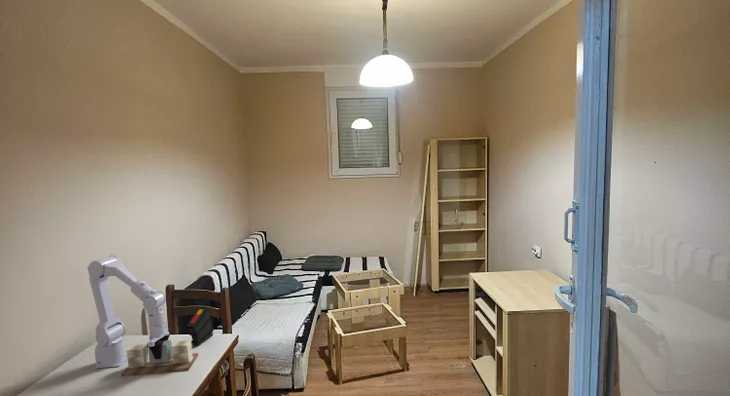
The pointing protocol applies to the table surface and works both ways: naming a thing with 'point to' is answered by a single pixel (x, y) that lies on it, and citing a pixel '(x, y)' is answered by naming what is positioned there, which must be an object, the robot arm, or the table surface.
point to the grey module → (162, 353)
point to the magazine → (200, 327)
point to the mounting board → (141, 363)
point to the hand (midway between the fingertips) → (160, 355)
